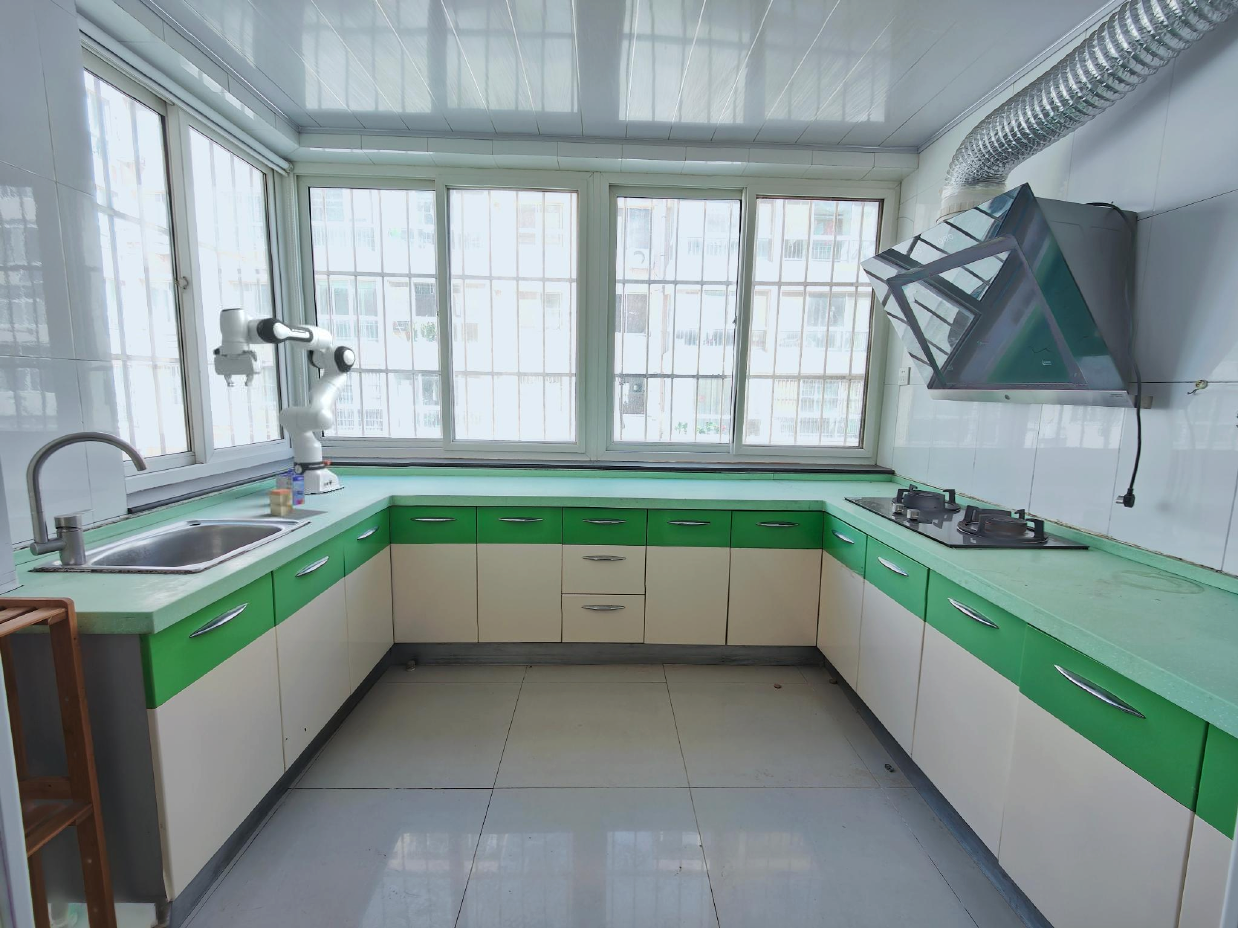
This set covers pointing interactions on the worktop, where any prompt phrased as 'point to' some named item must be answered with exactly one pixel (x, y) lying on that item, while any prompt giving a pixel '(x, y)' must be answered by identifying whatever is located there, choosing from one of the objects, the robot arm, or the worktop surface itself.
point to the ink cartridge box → (292, 485)
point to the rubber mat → (297, 514)
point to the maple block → (281, 502)
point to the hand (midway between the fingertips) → (239, 386)
